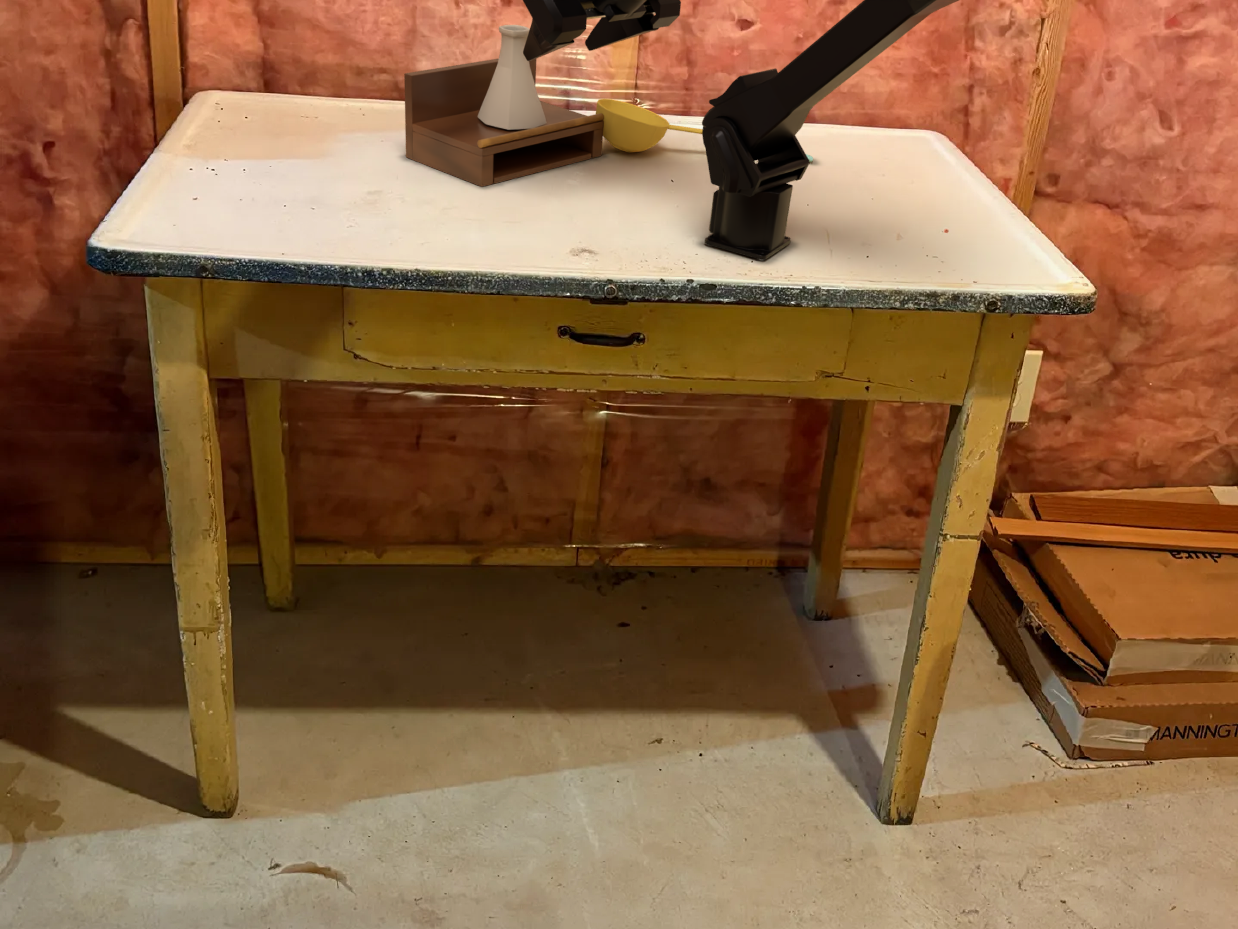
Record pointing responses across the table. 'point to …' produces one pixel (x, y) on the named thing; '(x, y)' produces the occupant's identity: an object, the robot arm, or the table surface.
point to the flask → (512, 86)
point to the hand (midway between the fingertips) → (557, 51)
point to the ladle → (635, 126)
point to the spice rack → (487, 128)
